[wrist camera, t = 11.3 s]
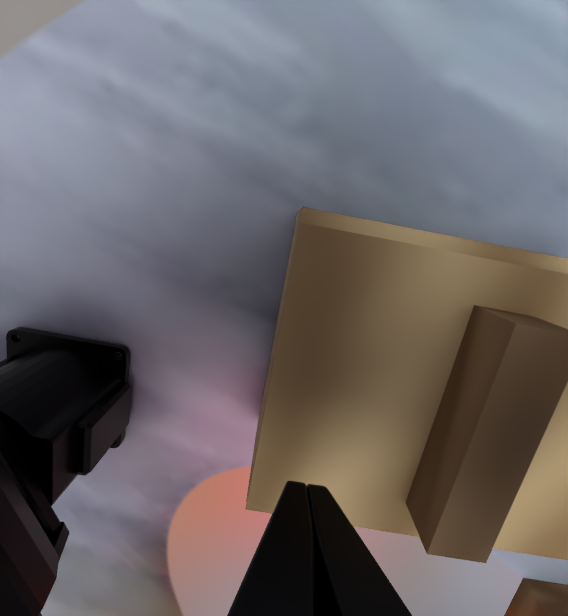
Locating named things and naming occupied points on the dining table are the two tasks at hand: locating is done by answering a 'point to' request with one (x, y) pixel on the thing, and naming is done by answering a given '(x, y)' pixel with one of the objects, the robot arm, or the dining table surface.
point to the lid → (422, 394)
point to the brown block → (539, 599)
